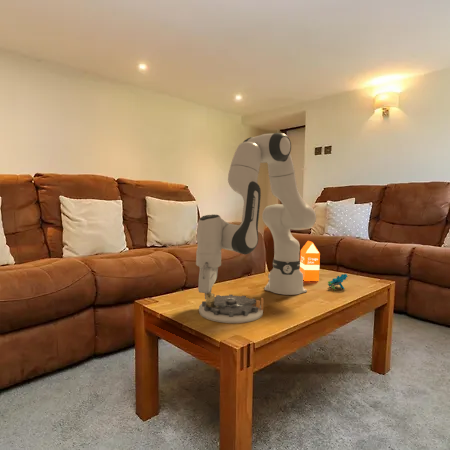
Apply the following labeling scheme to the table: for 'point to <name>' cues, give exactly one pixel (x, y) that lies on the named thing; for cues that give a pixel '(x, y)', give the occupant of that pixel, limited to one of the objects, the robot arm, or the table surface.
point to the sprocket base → (235, 318)
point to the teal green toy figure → (338, 281)
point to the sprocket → (230, 305)
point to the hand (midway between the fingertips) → (207, 298)
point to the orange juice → (310, 262)
